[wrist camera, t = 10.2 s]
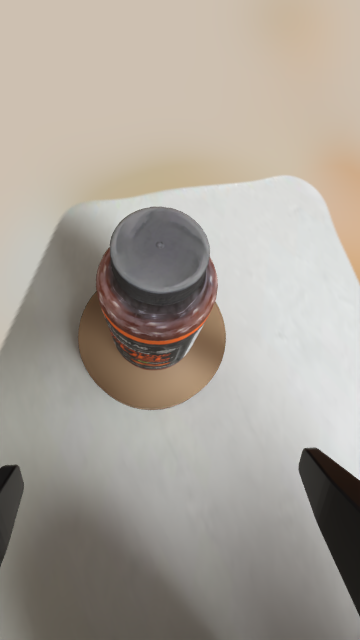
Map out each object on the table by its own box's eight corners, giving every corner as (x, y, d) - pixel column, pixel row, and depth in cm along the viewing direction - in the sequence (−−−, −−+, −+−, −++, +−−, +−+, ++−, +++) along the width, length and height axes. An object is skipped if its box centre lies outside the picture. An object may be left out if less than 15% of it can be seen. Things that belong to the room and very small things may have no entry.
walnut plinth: (190, 433, 22) (195, 433, 20) (58, 375, 23) (48, 369, 20) (234, 310, 26) (243, 298, 24) (122, 263, 27) (119, 247, 24)
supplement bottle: (103, 363, 21) (56, 294, 10) (125, 289, 23) (105, 171, 12) (185, 381, 21) (222, 332, 10) (200, 306, 23) (242, 202, 13)
